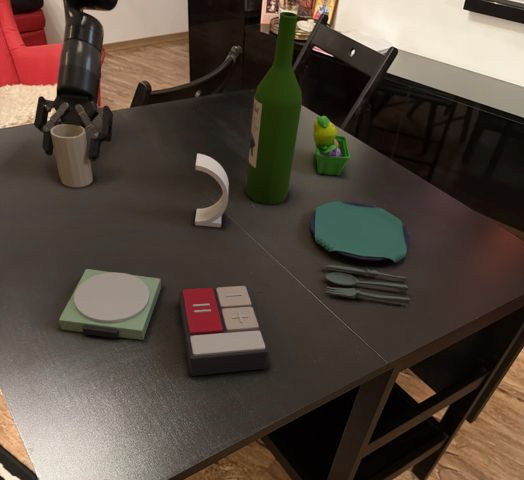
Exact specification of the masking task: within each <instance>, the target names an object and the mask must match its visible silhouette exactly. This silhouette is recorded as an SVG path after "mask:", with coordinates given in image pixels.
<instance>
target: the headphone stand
mask: <svg viewBox="0 0 524 480" xmlns="http://www.w3.org/2000/svg"><path fill="white" fill-rule="evenodd" d="M195 171H199V172H203V173H205V174H207V175H209V176H211V177H212V178H213V179H214V180H216V182H217V183H218V185H219V186H220V188H221V192H222V195H221V196H220V198H219V200H218V201H216V203H214V204H213V205H210V206H208V207H203V208H196V211H195V219H194V226H200V227H201V226H202V227H213V228H222V218H223V217H222V216H223V215H224V213H225V211H226V209H227V207H228V203H229V192H230V191H229V190H230V184H229V182H230V181H229V177H228V175H227V172H226V170H225V169H224V167H223V166H222V165H221V164H220V163H219V162H218V161H217V160H216V159H214V158H213V157H211V156H208V155H206V154H203V153H198V152H197V153H196V160H195Z"/></svg>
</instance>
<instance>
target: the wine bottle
mask: <svg viewBox="0 0 524 480" xmlns="http://www.w3.org/2000/svg"><path fill="white" fill-rule="evenodd" d="M298 18H299V16H298V15H297V14H296V13H295V12H291V11H281V12H279V20H278V27H277V28H278V29H277V37H276V42H275V43H276V44H275V52H274V60H273V63H272V66H271V67H270V68H269V70H268V71H267V72H266V74H265V75H264V76H263V78H262V79H261V81H260V82H259V84H258V85H257V86H256V90H255V92H254V97H253V106H252V117H251V118H252V119H251V129H250V140H249V141H250V142H249V150H248V151H249V152H248V165H247V175H246V186H245V187H246V188H245V191H246V195H247V197H248V198H250V199H251V200H252V201H254V202H256V203H259V204H264V205H276V204H277V205H278V204H280V203H283V202H284V201H285V200H286V198H287V197H288V193H289V187H290V181H291V180H290V179H291V174H292V169H293V162H294V161H293V160H294V155H295V149H296V143H297V137H298V136H297V135H298V130H299V124H300V117H301V111H302V105H303V96H302V90H301V87H300V84H299V82H298V79H297V77H296V75H295V72H294V69H293V55H294V47H295V40H296V39H295V38H296V31H297V23H298Z"/></svg>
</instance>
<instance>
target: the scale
mask: <svg viewBox="0 0 524 480" xmlns="http://www.w3.org/2000/svg"><path fill="white" fill-rule="evenodd" d="M161 290H162V281H161V278H157V277H150V276H141V275H136V274H135V275H134V274H129V273H126V272H117V271H116V272H115V271H114V272H112V271H104V270H98V269H89V268H86V269H85V270H84V272H83V274H82V276H81V278H80V280H79V281H78V283H77V285H76V287H75V289H74V291H73V292H72V294H71V296H70V298H69V299H68V302H67V304H66V306H65V308H64V309H63V311H62V313H61V315H60V317H59V319H58V322H59V325H60V328H61V330H62V331H69V332H70V331H71V332H78V333H83V334H84V335H89V336H97V337H104V338H112V339H118V338H124V339H133V340H139V341H144V339H145V337H146V333H147V331H148V327H149V325H150V321H151V319H152V316H153V314H154V310H155V307H156V304H157V301H158V298H159V295H160V293H161Z"/></svg>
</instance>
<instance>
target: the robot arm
mask: <svg viewBox="0 0 524 480" xmlns="http://www.w3.org/2000/svg"><path fill="white" fill-rule="evenodd" d="M118 1H119V0H62V4H63V12H64V23H65V26H64V34H63V42H62V48H61V51H60V56H59V65H58V73H57V83H56V95H55V98H54V100H51V99H46V98H45V97H44V96H42V95H41V96H39V97H38V98H37V102H36V103H37V104H36V110H35V115H34V122H33V126H34V127H35V128H36V129H37V130H38V131H39V132H41V133H43V136H42V145H41V146H42V147H41V148H42V150H43V151H44V153H45V154H46V155H47V156H51V157H53V154H54V146H53V142H52V137H51V132H50V130H51V129H52V128H53V127H54V126H57V125H61V124H74V125H78V126H82V127H83V128H84V129H87V130H88V132H89V134H90V135H91V137H92V138H90V142H89V147H88V152H89V159H90V162H93V163H96V161H97V160H99V158H100V153H101V146H102V143H104V142H107V143H108V142H111V141H112V137H113V120H114V112H113V111H112V110H111V108H110V107H109V105H104V106H103V107H101V106H100V107H99V106H98V100H99V94H100V93H99V92H100V85H101V84H100V83H101V79H102V56H103V55H102V54H103V47H104V38H105V37H104V36H105V32H104V31H105V30H104V26H103V24H102V23H101V21H100V20H99V19H98V18H97V17H95V16H94V15H92V14H89V13H87V12H85V10H86V11H98V12H99V11H100V12H111V11H113V10H114V9H116V7H117V5H118ZM53 109H54V110H55V112H54V113H53V114H52V115H51V116H50V117H49V113H51V112H52V110H53ZM98 116H99V117H100V119H101V120H102V121H101V122H102V124H101V132H98V129H97V127H96V126H95V124H94V123H93V121H94V120H95V119H96V118H97V117H98ZM48 119H49V121H48Z"/></svg>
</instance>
